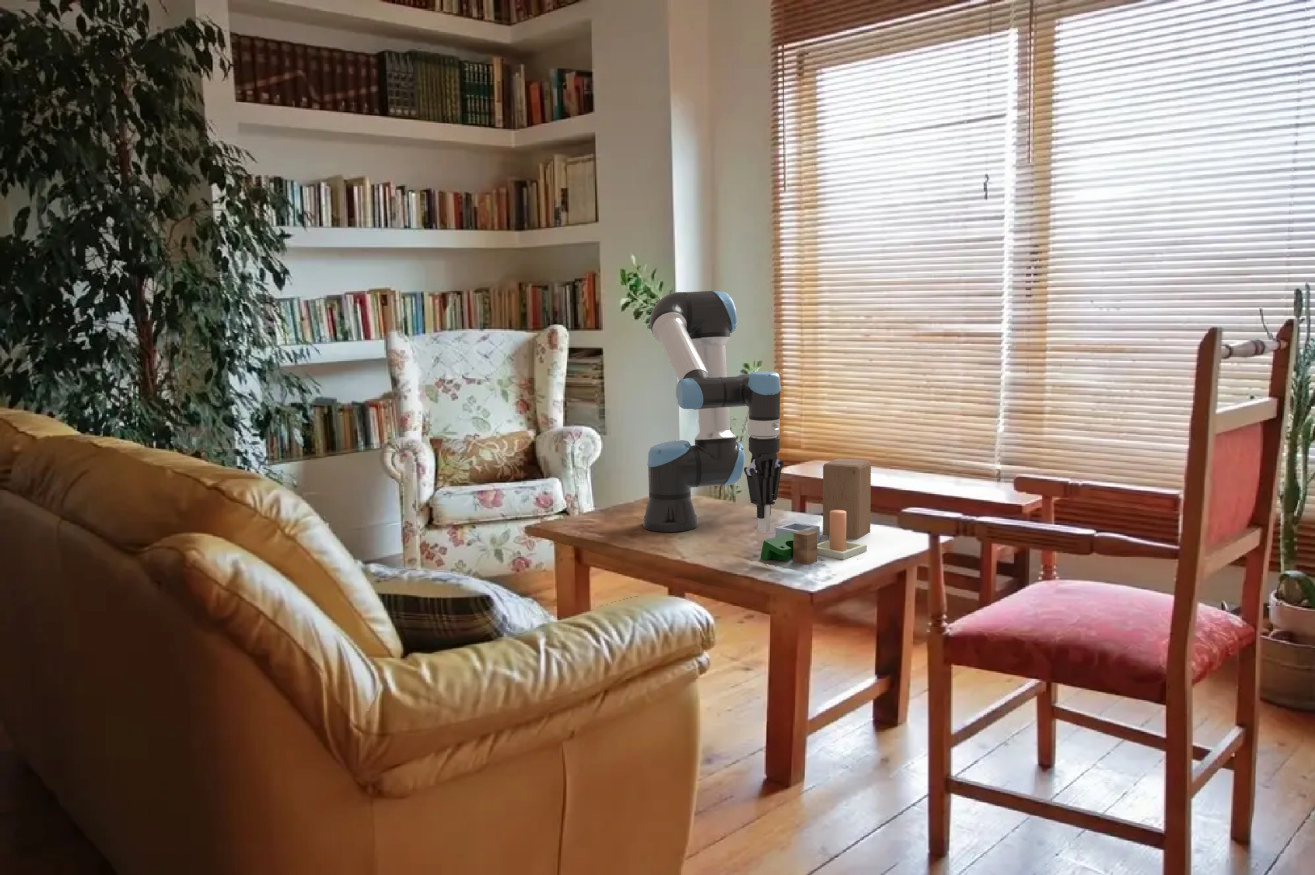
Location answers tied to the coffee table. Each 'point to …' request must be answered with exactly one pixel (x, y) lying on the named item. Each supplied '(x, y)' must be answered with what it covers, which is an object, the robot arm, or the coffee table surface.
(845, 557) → the tray
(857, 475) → the wooden block
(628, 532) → the coffee table surface
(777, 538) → the clamp
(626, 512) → the coffee table surface
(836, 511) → the peach rounded rod
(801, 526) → the socket
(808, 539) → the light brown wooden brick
